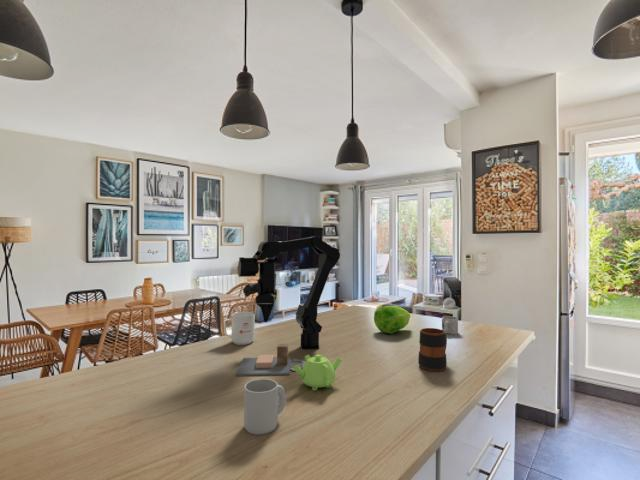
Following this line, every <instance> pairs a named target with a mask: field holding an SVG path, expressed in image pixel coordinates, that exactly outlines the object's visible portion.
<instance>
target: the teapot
mask: <svg viewBox="0 0 640 480" xmlns="http://www.w3.org/2000/svg"><path fill="white" fill-rule="evenodd" d="M304 360H305V362H304V365H303V367H302V368H301V367H300V366H299V364H296V365H294V366H293V370H294V371H295V373H297V375H298V376H299V377H300V378H301V381H302V382H303V383H304V385H306V386H308V387H310V388H311V390H312V391H313V392H317V391H318V390H319V388H326V389H330V388H331V387H332V384H333V382H335V380H336V371H337V369H338V367H339V366H340V364H341V363H342V359H340V358H339V357H337V358H336V359H335V361H334V362H333V364H332V362H331V361H330V360H329V359H328V358H327V357H325V356H323V355H322V354H318V353H317V354H315V355H314V356H312V357H311V356H310V354H306V355H304Z"/></svg>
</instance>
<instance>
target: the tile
mask: <svg viewBox="0 0 640 480" xmlns="http://www.w3.org/2000/svg"><path fill="white" fill-rule="evenodd" d="M257 358H258V359H257V361H256V368H272V366H273V362H274V358H275V354H266V355H265V354H261V355H260V354H259V355H258V357H257Z"/></svg>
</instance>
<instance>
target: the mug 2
mask: <svg viewBox="0 0 640 480" xmlns="http://www.w3.org/2000/svg"><path fill="white" fill-rule="evenodd" d="M447 338H448V337H447V334H445V332H444V331H443V330H442V329H440V328H435V327H434V328H433V327H425V328H421V329H420V330H419V351H418V361H417V363H418V365H419V367H420V368H421V369H423V370H425V371H429V372H443V371H444V370H445V369H446V368H447V365H448V364H447V363H448V362H447V353H446V352H447V351H446V349H447V343H448V339H447Z"/></svg>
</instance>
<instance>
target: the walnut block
mask: <svg viewBox="0 0 640 480" xmlns="http://www.w3.org/2000/svg"><path fill="white" fill-rule="evenodd" d="M288 357H289V344H288V343H277V346H276V358H277V365H287V364H288Z"/></svg>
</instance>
